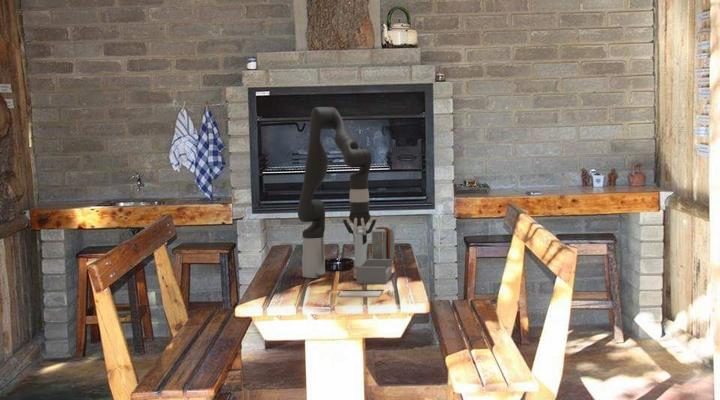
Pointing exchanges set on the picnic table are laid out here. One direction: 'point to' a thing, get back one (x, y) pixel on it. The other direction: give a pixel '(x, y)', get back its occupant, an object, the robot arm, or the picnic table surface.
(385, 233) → the decorative stone tablet
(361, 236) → the grey flat slab
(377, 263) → the rack
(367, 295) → the mat
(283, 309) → the picnic table surface
